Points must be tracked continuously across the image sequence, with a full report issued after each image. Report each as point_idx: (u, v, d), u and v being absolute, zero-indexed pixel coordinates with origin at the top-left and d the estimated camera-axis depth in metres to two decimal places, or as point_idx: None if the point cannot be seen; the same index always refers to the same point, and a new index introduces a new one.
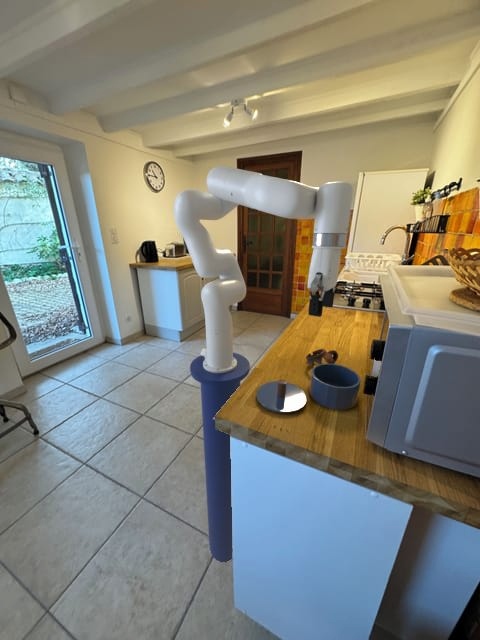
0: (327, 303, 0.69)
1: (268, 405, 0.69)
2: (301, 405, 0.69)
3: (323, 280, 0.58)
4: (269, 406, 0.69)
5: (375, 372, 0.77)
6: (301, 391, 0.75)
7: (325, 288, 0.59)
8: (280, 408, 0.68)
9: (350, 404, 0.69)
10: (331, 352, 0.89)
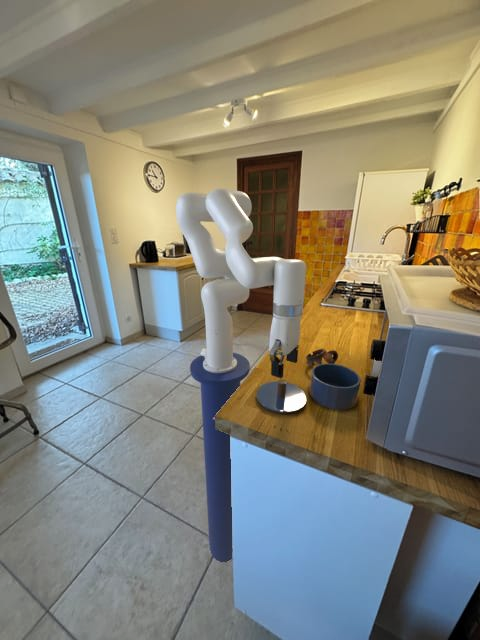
0: (292, 359, 0.73)
1: (268, 405, 0.69)
2: (301, 405, 0.69)
3: (282, 346, 0.63)
4: (269, 406, 0.69)
5: (375, 372, 0.77)
6: (301, 391, 0.75)
7: (284, 353, 0.63)
8: (280, 408, 0.68)
9: (350, 404, 0.69)
10: (331, 352, 0.89)
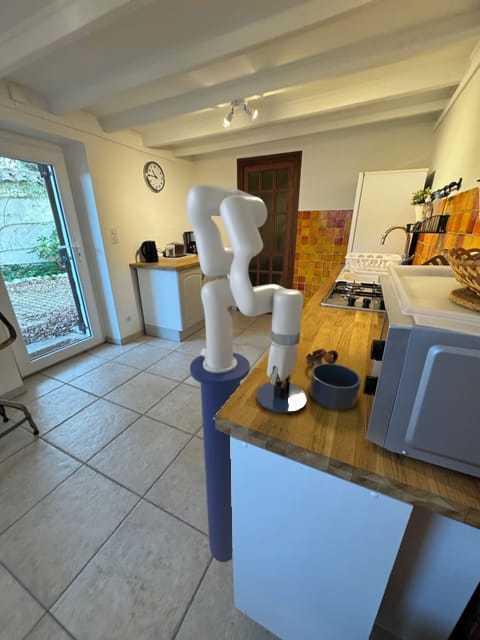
0: None
1: (268, 405, 0.69)
2: (301, 405, 0.69)
3: (279, 373, 0.65)
4: (269, 406, 0.69)
5: (375, 372, 0.77)
6: (301, 391, 0.75)
7: (281, 379, 0.66)
8: (280, 408, 0.68)
9: (350, 404, 0.69)
10: (331, 352, 0.89)
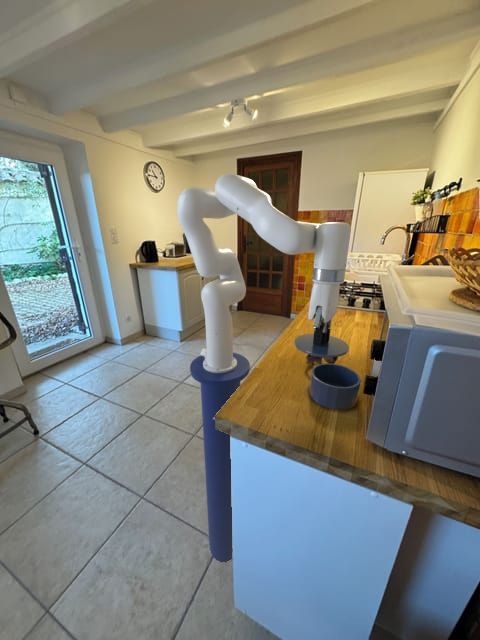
0: None
1: (309, 351, 0.65)
2: (345, 351, 0.64)
3: (323, 313, 0.61)
4: (310, 351, 0.64)
5: (375, 372, 0.77)
6: (341, 340, 0.70)
7: (325, 320, 0.62)
8: (323, 353, 0.63)
9: (350, 404, 0.69)
10: None
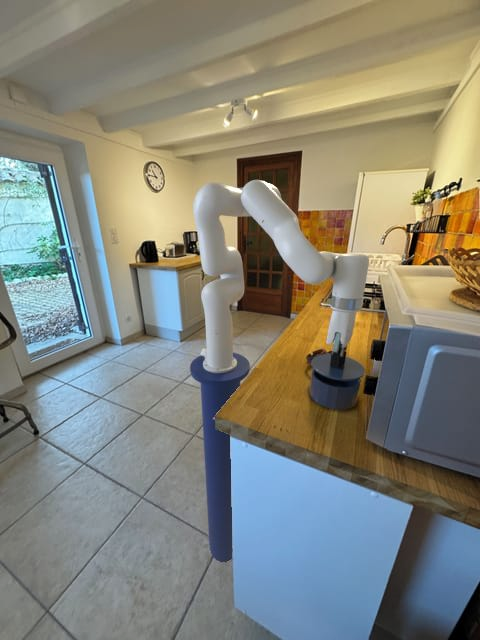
0: None
1: (327, 374, 0.67)
2: (361, 374, 0.68)
3: (341, 339, 0.64)
4: (329, 374, 0.67)
5: (375, 372, 0.77)
6: (356, 362, 0.74)
7: (343, 346, 0.65)
8: (341, 376, 0.66)
9: (350, 404, 0.69)
10: (331, 352, 0.89)
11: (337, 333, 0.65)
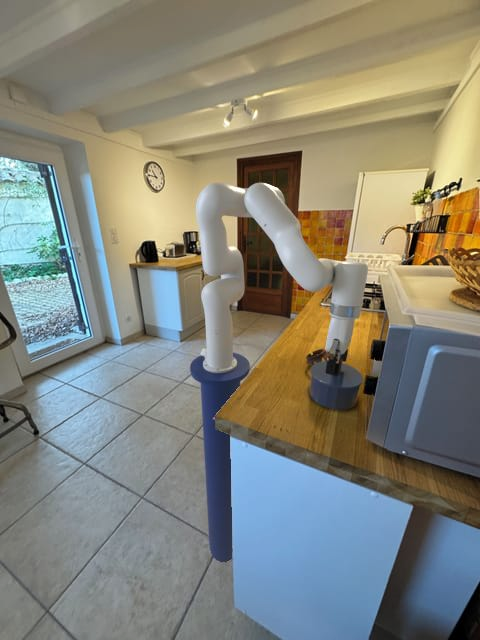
0: (341, 358, 0.75)
1: (326, 382, 0.68)
2: (359, 382, 0.68)
3: (340, 346, 0.65)
4: (327, 383, 0.68)
5: (375, 372, 0.77)
6: (355, 369, 0.74)
7: (342, 352, 0.65)
8: (339, 384, 0.67)
9: (350, 404, 0.69)
10: None
11: None
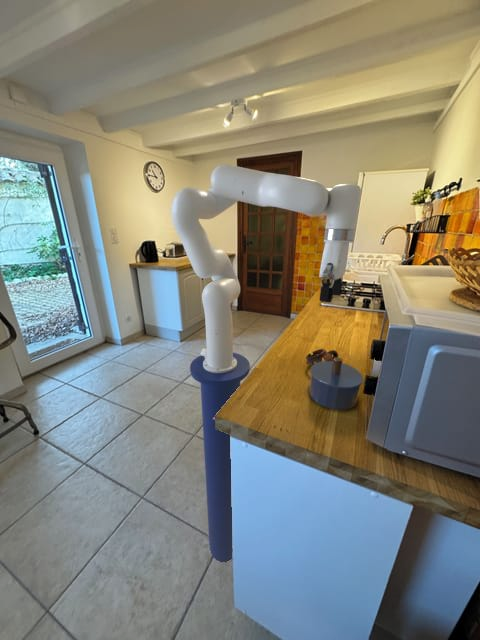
0: (336, 292, 0.77)
1: (326, 382, 0.68)
2: (359, 382, 0.68)
3: (333, 270, 0.67)
4: (327, 383, 0.68)
5: (375, 372, 0.77)
6: (355, 369, 0.74)
7: (335, 277, 0.67)
8: (339, 384, 0.67)
9: (350, 404, 0.69)
10: (331, 352, 0.89)
11: None
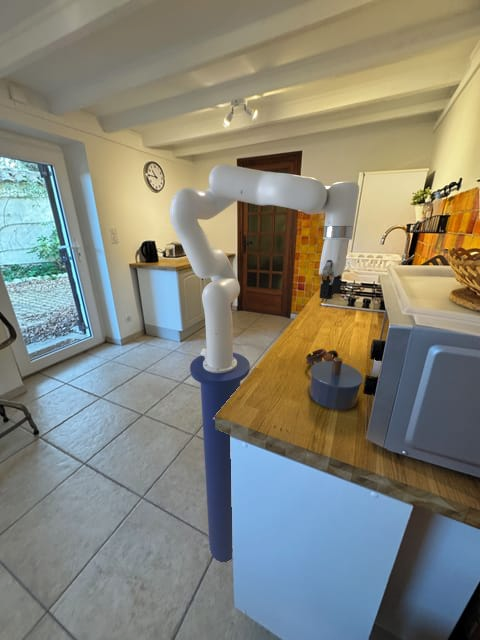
0: (335, 289, 0.78)
1: (326, 382, 0.68)
2: (359, 382, 0.68)
3: (333, 267, 0.67)
4: (327, 383, 0.68)
5: (375, 372, 0.77)
6: (355, 369, 0.74)
7: (334, 274, 0.68)
8: (339, 384, 0.67)
9: (350, 404, 0.69)
10: (331, 352, 0.89)
11: None
